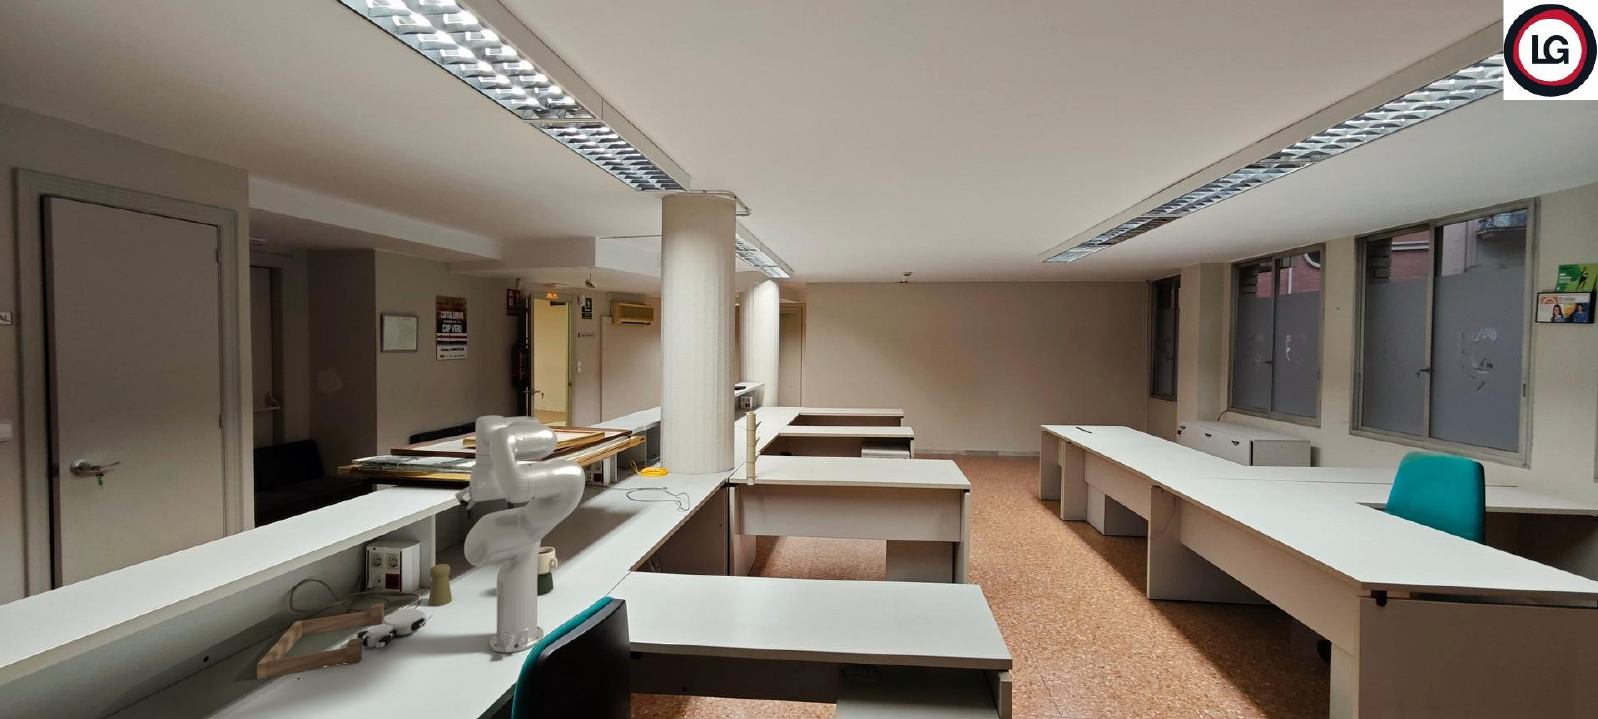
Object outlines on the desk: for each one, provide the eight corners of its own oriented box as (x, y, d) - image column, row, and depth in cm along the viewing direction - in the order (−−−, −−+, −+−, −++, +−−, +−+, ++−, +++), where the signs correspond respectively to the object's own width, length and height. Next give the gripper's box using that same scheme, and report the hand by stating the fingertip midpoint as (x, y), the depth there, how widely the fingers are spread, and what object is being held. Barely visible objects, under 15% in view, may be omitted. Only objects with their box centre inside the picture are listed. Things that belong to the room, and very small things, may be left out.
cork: (426, 601, 171) (426, 564, 170) (450, 595, 174) (450, 560, 174) (429, 608, 166) (429, 571, 166) (453, 602, 170) (453, 566, 170)
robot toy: (381, 659, 141) (436, 626, 155) (379, 641, 140) (435, 610, 155) (346, 650, 145) (403, 619, 159) (345, 633, 144) (402, 604, 158)
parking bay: (358, 662, 137) (358, 642, 137) (255, 680, 129) (255, 659, 129) (383, 620, 158) (383, 602, 158) (296, 633, 151) (296, 614, 151)
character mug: (564, 589, 180) (565, 548, 179) (548, 598, 173) (548, 556, 173) (537, 584, 183) (537, 544, 183) (520, 593, 176) (520, 552, 176)
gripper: (521, 454, 170) (521, 511, 170) (453, 460, 159) (453, 520, 160) (526, 458, 164) (526, 517, 164) (456, 465, 153) (456, 528, 154)
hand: (490, 519), depth 162 cm, fingers open, 9 cm apart
